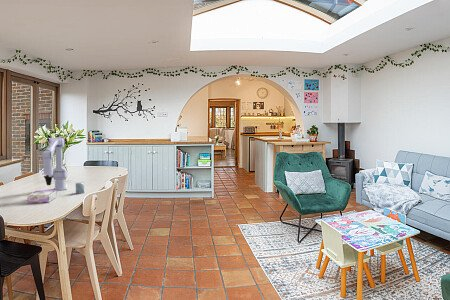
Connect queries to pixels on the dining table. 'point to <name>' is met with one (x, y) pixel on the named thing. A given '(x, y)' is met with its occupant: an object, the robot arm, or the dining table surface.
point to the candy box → (42, 196)
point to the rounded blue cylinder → (79, 188)
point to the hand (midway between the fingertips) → (48, 185)
